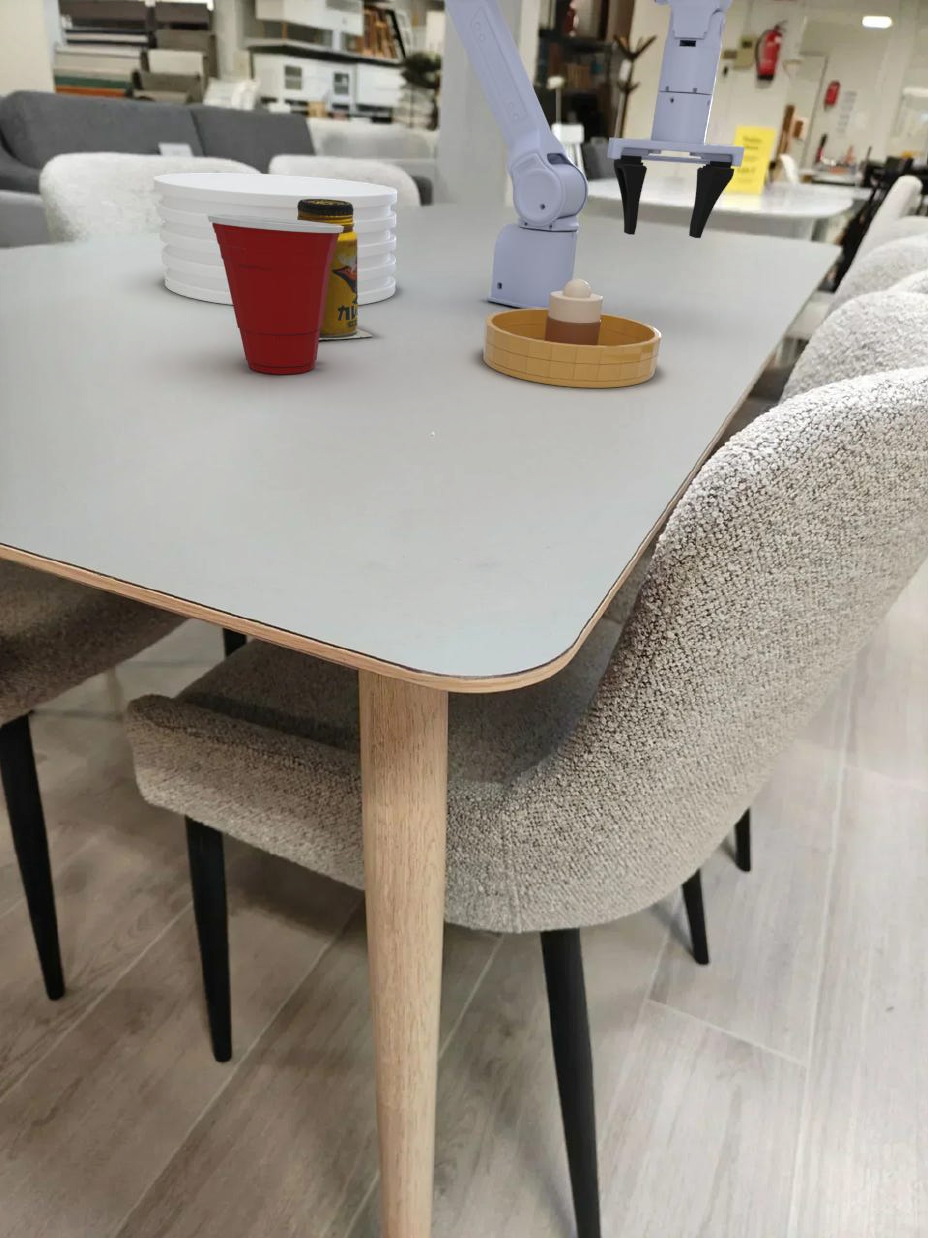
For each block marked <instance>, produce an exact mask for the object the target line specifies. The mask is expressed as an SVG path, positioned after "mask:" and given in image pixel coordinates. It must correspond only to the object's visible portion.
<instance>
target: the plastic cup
mask: <svg viewBox="0 0 928 1238" xmlns="http://www.w3.org/2000/svg"><path fill="white" fill-rule="evenodd" d="M207 216H208V220H209V222H212V226H213V228H214V232H215V233H216V237H217V243H218V244H219V247H220V252H221V258H222V259H223V262H224V266H225V271H226V276H227V280H228V285H229V289H230V294H231V298H232V303H233V305H232V307H233V312H234V316H235V320H236V321H235V322H236V327H237V329H239V333H240V338H241V343H242V348H243V352H244V356H245V360H246V361H247V365H248V368H250V369H251V370H253V371H256V372H258V373H264V374H272V375H294V374H303V373H305V372H309V371H310V372H311V371H312V370H313V369H314V368H315V364H316V361H317V359H318V352H319V351H318V350H319V344H320V340H319V336H320V329H321V328H322V322H323V315H324V308H325V301H326V294H327V287H328V280H329V273H330V265H331V264H332V259H333V253H334V251H335V247H336V242H337V241H338V237H339V233H341V232H343V229H344V227H343V226H341V225H335V224H328V223H321V222H312V221H304V220H294V219H284V218H272V217H260V216H246V215H228V214H207Z"/></svg>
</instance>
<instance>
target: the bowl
mask: <svg viewBox="0 0 928 1238" xmlns="http://www.w3.org/2000/svg"><path fill="white" fill-rule="evenodd" d="M548 311H549V308H526V309H523V308H514V309H508V310H501V311H497V312H494V313H492V314H489V315H488V316H487V317H486V318H485V320H484V330H483V331H484V332H483V345H482V350H483V356H482V357H483V362H484V363H485V364H486V365H487V366H488V367H489V368H491V369H493V370H495V371H496V372H499V373H501V374H504V375H507V376H509V377H513V378H516V379H520V380H523V381H528V382H529V381H530V382H534V383H538V384H544V385H550V386H551V385H552V386H558V387H568V388H569V387H570V388H583V389H584V388H586V389H588V388H589V389H609V388H622V387H627V386H628V387H629V386H634V385H635V386H636V385H639V384H643V383H644V382H647V381H649V380H650V379H652V378H653V377H654V375H655V372H656V368H657V363H658V355H659V350H660V346H661V345H660V344H661V339H662V334H661V332H660V331H659V330H658V329H657V328H655V327H654V326H652V325H650V324H648V323H645V322H642V321H639V320H636V319H632V318H629V317H624V316H620V315H615V314H611V313H610V314H609V313H605V312H601V316H600V320H601V324H600V331H599V339H598V346H595V345H575V344H565V343H556V342H549V341H544V339H545V330H546V320H547V315H548Z"/></svg>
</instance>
